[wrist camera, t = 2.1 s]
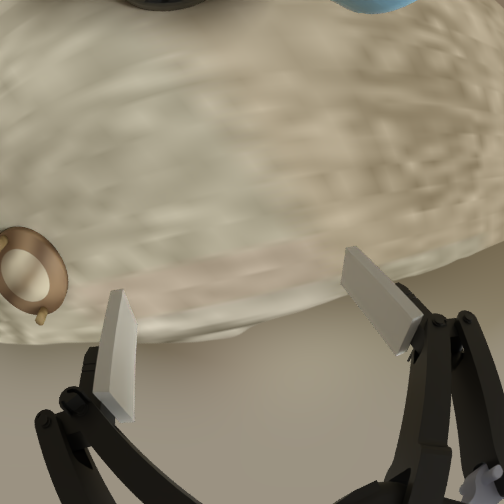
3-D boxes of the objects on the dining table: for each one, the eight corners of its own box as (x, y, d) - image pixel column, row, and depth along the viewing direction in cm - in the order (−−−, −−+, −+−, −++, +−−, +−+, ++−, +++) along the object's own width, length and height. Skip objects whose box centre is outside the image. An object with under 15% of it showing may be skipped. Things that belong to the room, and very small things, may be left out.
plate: (-17, 271, 32) (-28, 286, 28) (11, 206, 29) (-3, 218, 25) (46, 323, 40) (40, 340, 36) (85, 270, 38) (77, 288, 34)
